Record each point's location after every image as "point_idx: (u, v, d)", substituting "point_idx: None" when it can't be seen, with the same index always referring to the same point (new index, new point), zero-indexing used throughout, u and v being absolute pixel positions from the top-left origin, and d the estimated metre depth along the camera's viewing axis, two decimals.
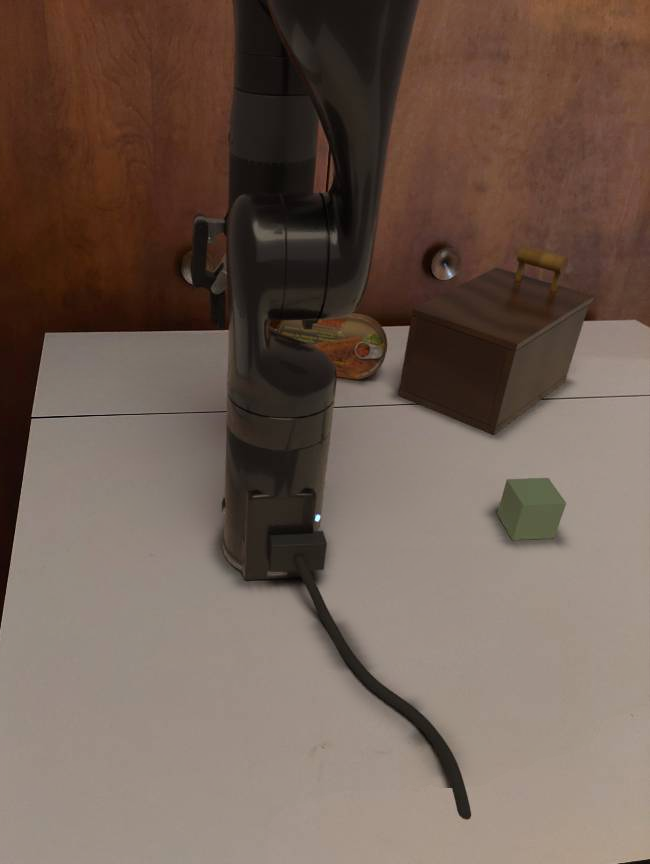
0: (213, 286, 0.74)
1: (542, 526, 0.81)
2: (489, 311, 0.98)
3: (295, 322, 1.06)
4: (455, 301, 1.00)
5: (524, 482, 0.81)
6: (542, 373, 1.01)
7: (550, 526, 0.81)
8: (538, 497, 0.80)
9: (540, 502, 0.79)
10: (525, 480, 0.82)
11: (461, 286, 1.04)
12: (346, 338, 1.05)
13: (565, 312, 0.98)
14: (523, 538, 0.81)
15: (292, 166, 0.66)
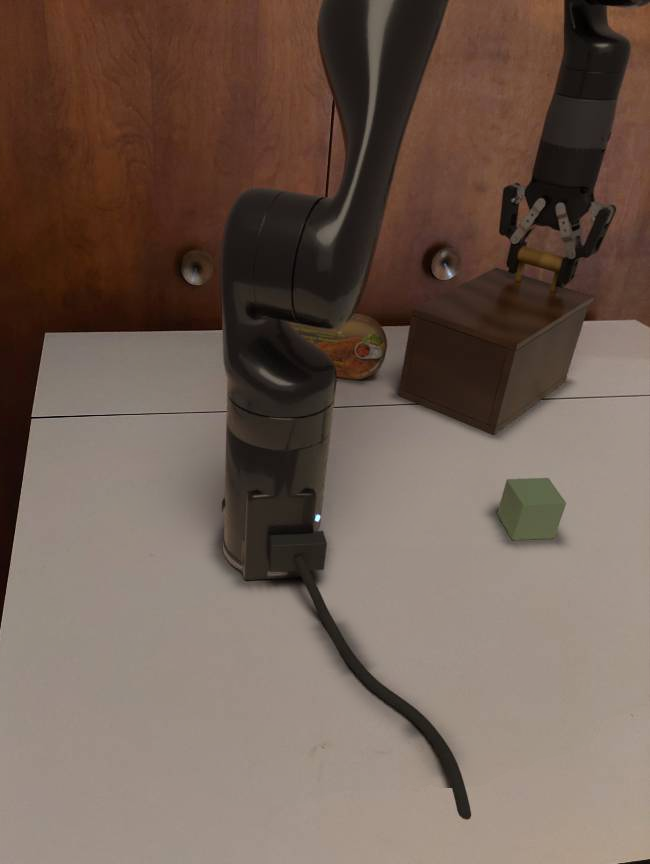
0: (512, 237, 1.03)
1: (542, 526, 0.81)
2: (489, 311, 0.98)
3: None
4: (455, 301, 1.00)
5: (524, 482, 0.81)
6: (542, 373, 1.01)
7: (550, 526, 0.81)
8: (538, 497, 0.80)
9: (540, 502, 0.79)
10: (525, 480, 0.82)
11: (461, 286, 1.04)
12: (346, 338, 1.05)
13: (565, 312, 0.98)
14: (523, 538, 0.81)
15: (569, 150, 0.92)
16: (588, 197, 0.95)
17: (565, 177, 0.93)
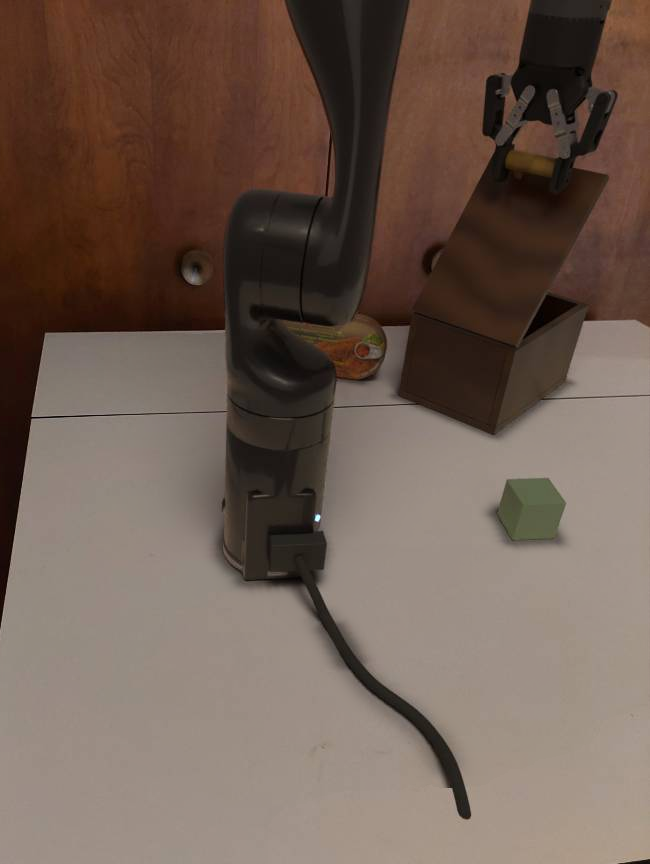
0: (497, 137, 0.89)
1: (542, 526, 0.81)
2: (487, 279, 0.93)
3: (295, 322, 1.06)
4: (452, 270, 0.96)
5: (524, 482, 0.81)
6: (542, 373, 1.01)
7: (550, 526, 0.81)
8: (538, 497, 0.80)
9: (540, 502, 0.79)
10: (525, 480, 0.82)
11: (457, 228, 0.96)
12: (346, 338, 1.05)
13: (570, 240, 0.89)
14: (523, 538, 0.81)
15: (562, 20, 0.77)
16: (585, 81, 0.81)
17: (557, 55, 0.79)
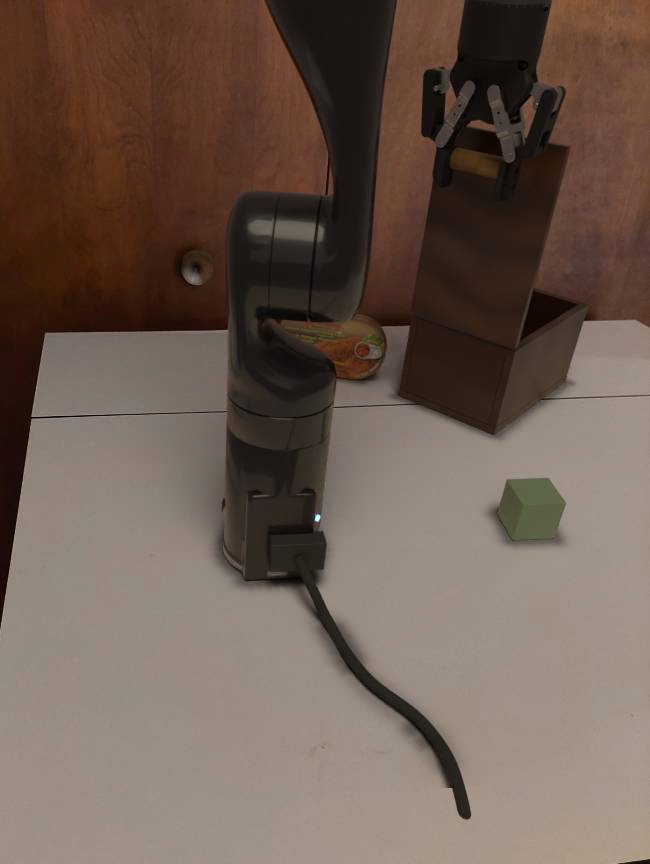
0: (437, 138, 0.80)
1: (542, 526, 0.81)
2: (472, 277, 0.90)
3: (295, 322, 1.06)
4: (436, 269, 0.93)
5: (524, 482, 0.81)
6: (542, 373, 1.01)
7: (550, 526, 0.81)
8: (538, 497, 0.80)
9: (540, 502, 0.79)
10: (525, 480, 0.82)
11: (429, 220, 0.91)
12: (346, 338, 1.05)
13: (543, 231, 0.82)
14: (523, 538, 0.81)
15: (500, 7, 0.69)
16: (529, 76, 0.72)
17: (496, 47, 0.70)
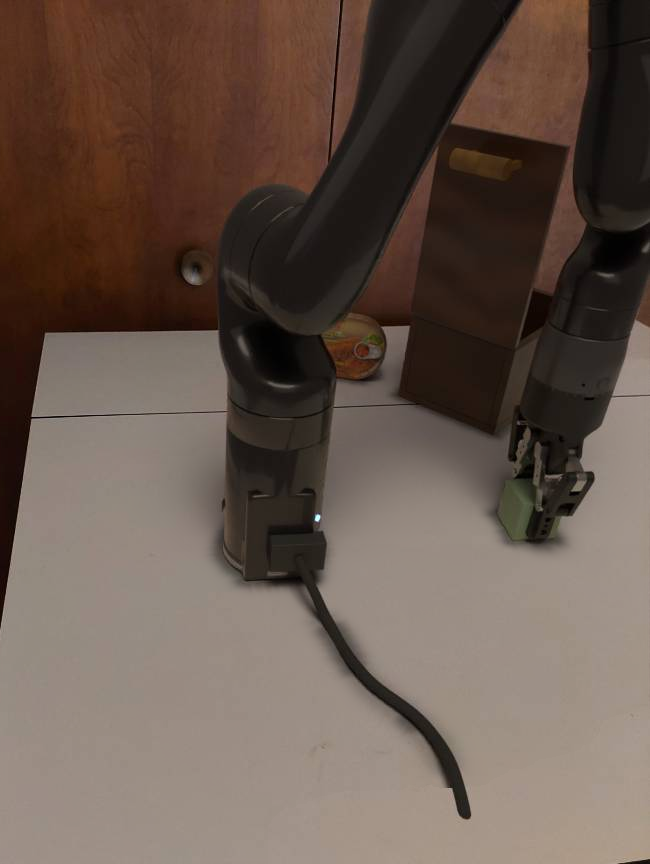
0: (513, 467, 0.83)
1: None
2: (472, 278, 0.90)
3: None
4: (436, 269, 0.93)
5: (524, 482, 0.82)
6: None
7: None
8: None
9: None
10: (525, 480, 0.82)
11: (428, 220, 0.90)
12: (345, 338, 1.05)
13: (543, 231, 0.82)
14: (523, 538, 0.81)
15: (539, 384, 0.71)
16: (565, 450, 0.73)
17: (533, 415, 0.73)
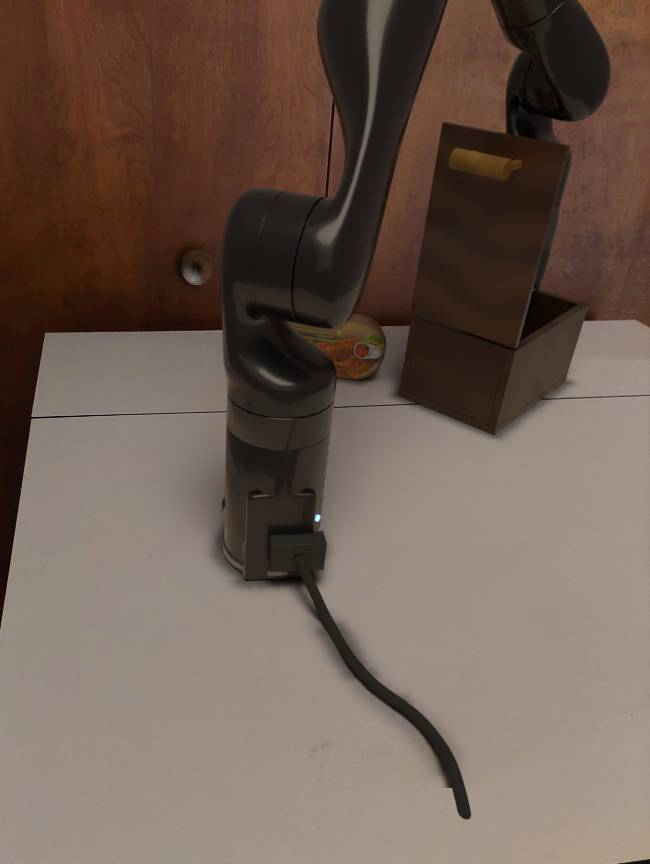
0: None
1: None
2: (472, 278, 0.90)
3: None
4: (436, 269, 0.93)
5: None
6: (542, 373, 1.01)
7: None
8: None
9: None
10: None
11: (428, 220, 0.90)
12: (345, 338, 1.05)
13: (543, 231, 0.82)
14: None
15: None
16: None
17: (544, 272, 0.96)
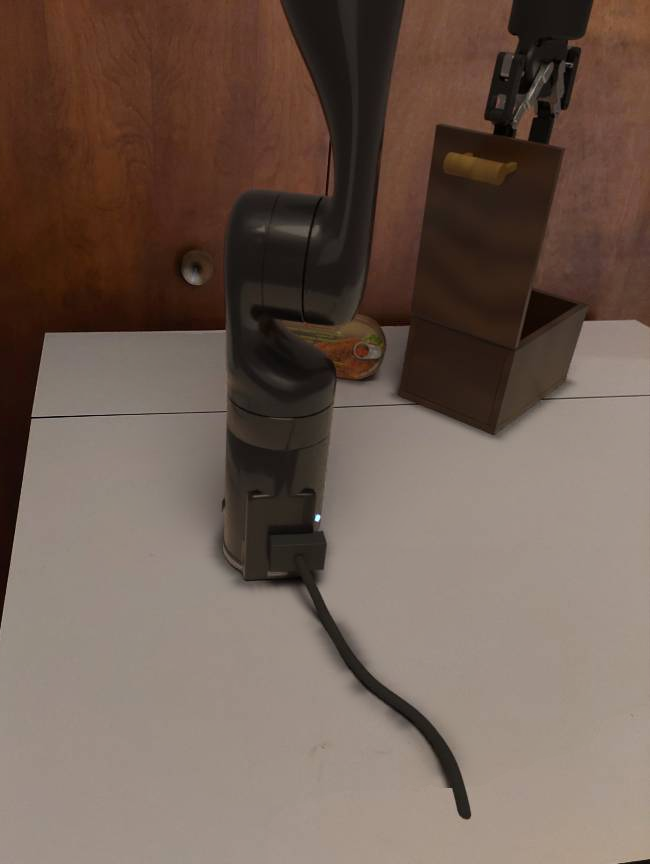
0: (514, 121, 0.80)
1: None
2: (470, 279, 0.90)
3: (294, 322, 1.06)
4: (434, 270, 0.92)
5: None
6: (542, 373, 1.01)
7: None
8: None
9: None
10: None
11: (425, 221, 0.90)
12: (345, 338, 1.05)
13: (540, 233, 0.82)
14: None
15: None
16: None
17: (587, 25, 0.78)
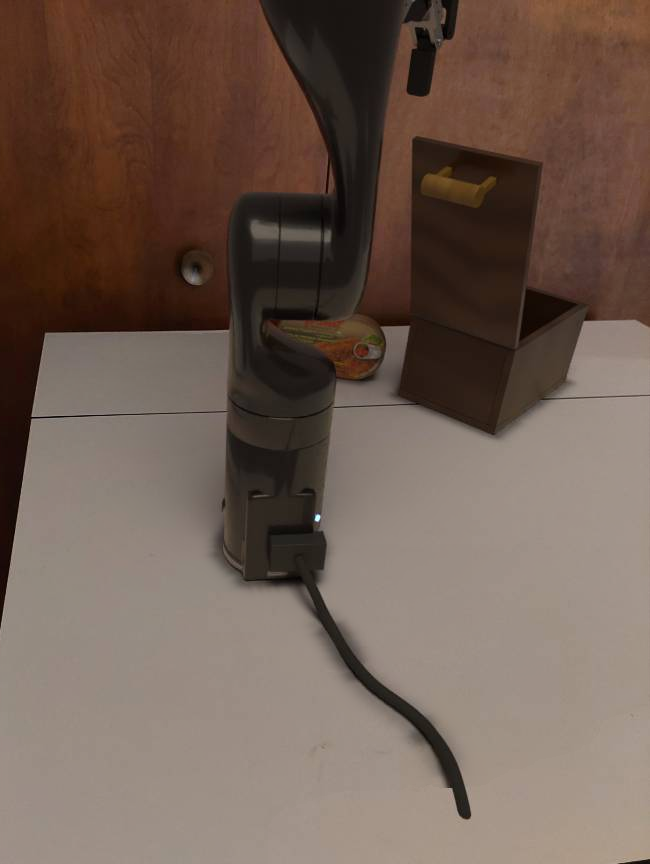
0: None
1: None
2: (464, 284, 0.89)
3: (294, 322, 1.06)
4: (428, 275, 0.92)
5: None
6: (542, 373, 1.01)
7: None
8: None
9: None
10: None
11: (414, 230, 0.89)
12: (345, 338, 1.05)
13: (526, 244, 0.81)
14: None
15: None
16: None
17: None
